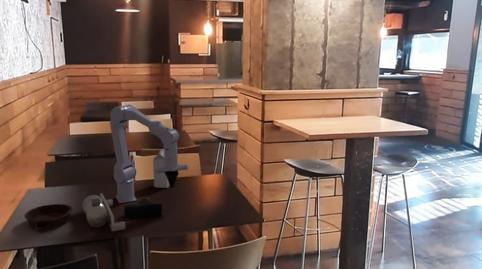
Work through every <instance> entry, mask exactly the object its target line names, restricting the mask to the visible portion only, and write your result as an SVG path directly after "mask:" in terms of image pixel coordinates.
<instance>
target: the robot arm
mask: <svg viewBox="0 0 482 269" xmlns="http://www.w3.org/2000/svg"><path fill="white" fill-rule="evenodd" d="M109 114H110V122H109V125H110V132H111V138H112V141H113V142H112V143H113V148H114V153H115V159H116V162H115V165H114V167H113V179H114V181H115V182H116V184H117V185H116V187H117V195H115V198H116V200H117V202H118V204H124V203H129V202H135V201H136V202H137V200H138V199H137V198H136V196H135V187H134V186H135V184H134V183H135V181H134V180H135V177H136V176H137V169H136V167H135V166H134V165H135V164H134V162H133V161H132V160H130V157H129V156H130V155H129V151H128V144H127V141H126V134H125V129H124V126H125V125H126V123H127V122H128V121H130V120H131V121H132V120H134V121H136V123H137V122H138V123H139V124H141V125H143V126H145V127H147V128H148V131H149V132H150V133H151V134H152V135H155V136H156V137H158V138H159V139H160V141H161V142H162V145H163V149H164V165H165V166H164V167H160V168H155V169H154V170H153V174H154V173H155V174H158V173H165V175H166V177H167V179H168V182H169V188H170V189H172V188H173V189H174V188H175V183H176V180H177V178H178V176H179V171H184V170H185V171H188V170H189V166H188V165H187V164H179V161H178V159H179V158H178V141H179V140H180V133H179V131H178V130H177V129H175V128H170V127H169V126H166V125H164V124H163V123H162V121H160V120H152V119H151V118H149V117H148V116H147V115H145V114H144V113H142V112H141V111H139V110H138V108H137V107H135V106H133V105H132V104H125V105H121V106H115V107H113V108H112V109H111V111H110V112H109Z"/></svg>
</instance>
